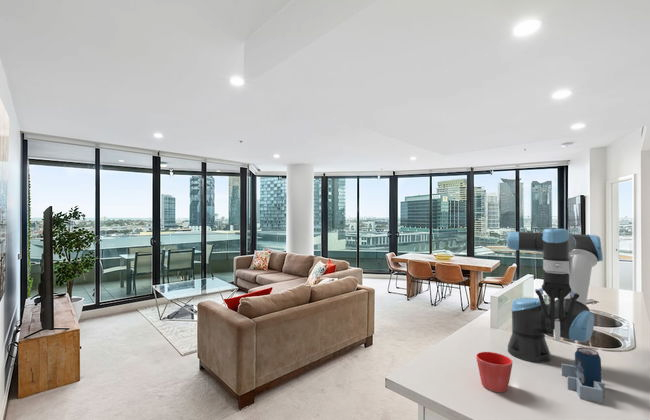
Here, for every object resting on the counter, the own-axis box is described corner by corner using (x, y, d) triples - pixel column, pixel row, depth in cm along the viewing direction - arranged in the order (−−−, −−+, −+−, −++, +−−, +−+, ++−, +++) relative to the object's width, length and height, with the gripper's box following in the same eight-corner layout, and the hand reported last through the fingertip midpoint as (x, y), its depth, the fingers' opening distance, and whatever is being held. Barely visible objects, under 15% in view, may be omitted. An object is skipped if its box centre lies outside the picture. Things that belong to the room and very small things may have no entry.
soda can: (602, 386, 109) (602, 350, 109) (600, 394, 104) (599, 357, 104) (577, 378, 114) (576, 345, 114) (573, 385, 109) (572, 350, 109)
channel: (571, 396, 102) (571, 384, 102) (561, 374, 117) (561, 363, 117) (609, 405, 98) (609, 391, 98) (594, 380, 112) (594, 369, 112)
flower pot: (480, 375, 116) (480, 348, 116) (515, 385, 109) (514, 356, 110) (472, 387, 108) (472, 358, 108) (509, 399, 101) (509, 368, 101)
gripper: (535, 272, 113) (536, 338, 113) (581, 275, 107) (582, 345, 107) (533, 269, 120) (533, 332, 119) (576, 271, 114) (577, 338, 113)
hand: (556, 338), depth 113 cm, fingers closed
